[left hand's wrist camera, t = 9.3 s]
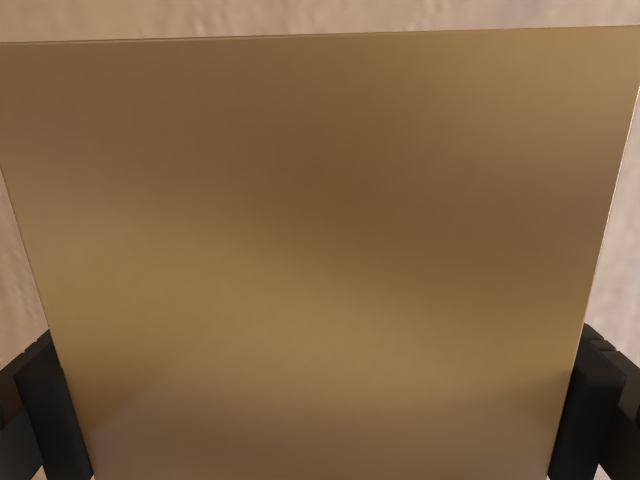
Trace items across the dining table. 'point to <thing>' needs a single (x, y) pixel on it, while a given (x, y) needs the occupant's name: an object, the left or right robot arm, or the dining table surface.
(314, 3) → the dining table surface
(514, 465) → the wide beam
